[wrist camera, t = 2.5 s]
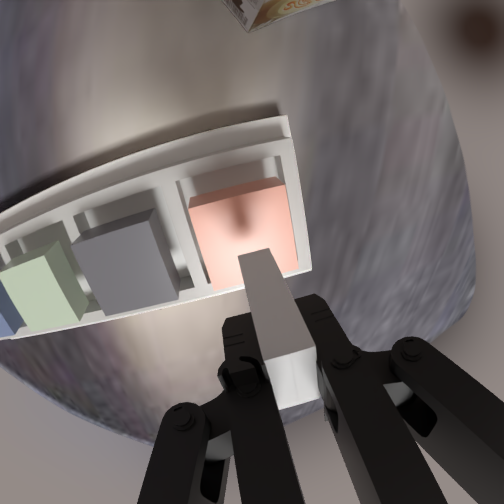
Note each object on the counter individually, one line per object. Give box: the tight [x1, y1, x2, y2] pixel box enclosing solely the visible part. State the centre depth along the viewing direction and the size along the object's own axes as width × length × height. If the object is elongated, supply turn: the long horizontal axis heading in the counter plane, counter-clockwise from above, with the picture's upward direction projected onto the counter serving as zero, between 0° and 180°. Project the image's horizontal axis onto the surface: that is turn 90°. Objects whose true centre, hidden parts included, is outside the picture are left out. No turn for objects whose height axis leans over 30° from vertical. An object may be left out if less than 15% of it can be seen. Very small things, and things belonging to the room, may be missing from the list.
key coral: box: [188, 176, 299, 291], centre depth 18 cm, size 6×6×2 cm
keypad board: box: [0, 115, 312, 340], centre depth 21 cm, size 13×34×4 cm, turn 102°
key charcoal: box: [71, 208, 181, 316], centre depth 18 cm, size 6×6×2 cm
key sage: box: [0, 240, 89, 332], centre depth 18 cm, size 6×6×2 cm
